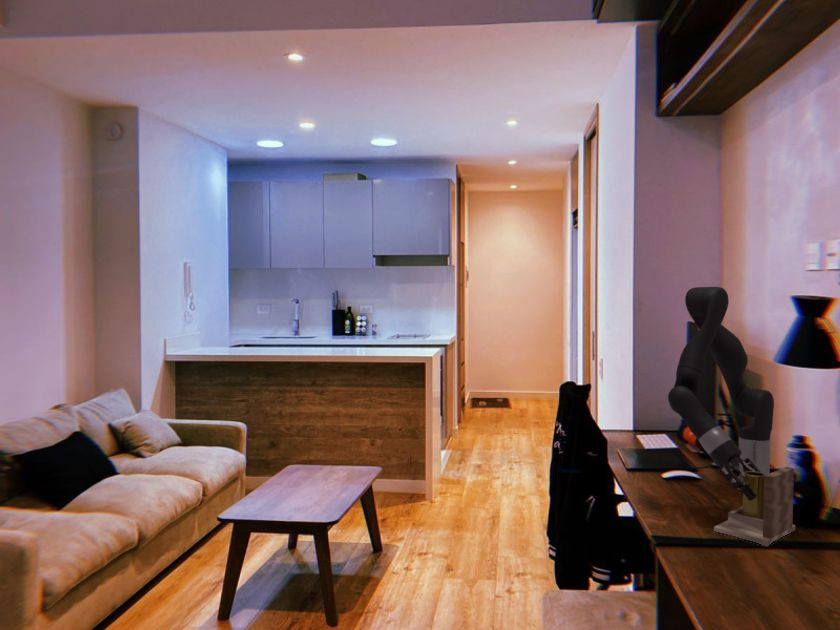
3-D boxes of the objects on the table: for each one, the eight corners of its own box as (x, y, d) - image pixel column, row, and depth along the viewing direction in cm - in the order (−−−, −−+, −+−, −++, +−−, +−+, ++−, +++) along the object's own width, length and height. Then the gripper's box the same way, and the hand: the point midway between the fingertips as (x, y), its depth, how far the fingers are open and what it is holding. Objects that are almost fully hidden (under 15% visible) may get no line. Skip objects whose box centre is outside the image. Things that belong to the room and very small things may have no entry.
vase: (764, 523, 193) (765, 471, 193) (767, 530, 187) (768, 477, 187) (740, 521, 195) (741, 469, 195) (742, 528, 189) (743, 475, 189)
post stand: (743, 517, 202) (744, 457, 202) (795, 530, 192) (796, 467, 191) (713, 532, 190) (715, 468, 190) (767, 546, 180) (768, 478, 179)
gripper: (717, 442, 191) (759, 493, 183) (740, 435, 200) (781, 483, 192) (698, 458, 195) (738, 508, 187) (721, 450, 205) (761, 498, 196)
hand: (760, 495), depth 190 cm, fingers open, 8 cm apart
